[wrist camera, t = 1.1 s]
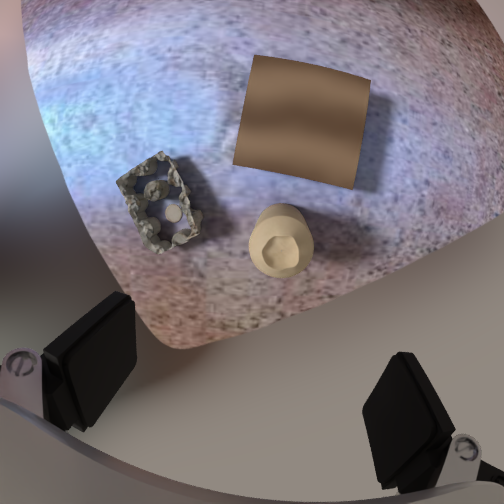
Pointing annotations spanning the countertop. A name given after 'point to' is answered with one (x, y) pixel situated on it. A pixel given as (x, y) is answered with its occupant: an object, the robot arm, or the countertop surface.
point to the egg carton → (155, 192)
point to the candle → (281, 242)
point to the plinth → (302, 121)
